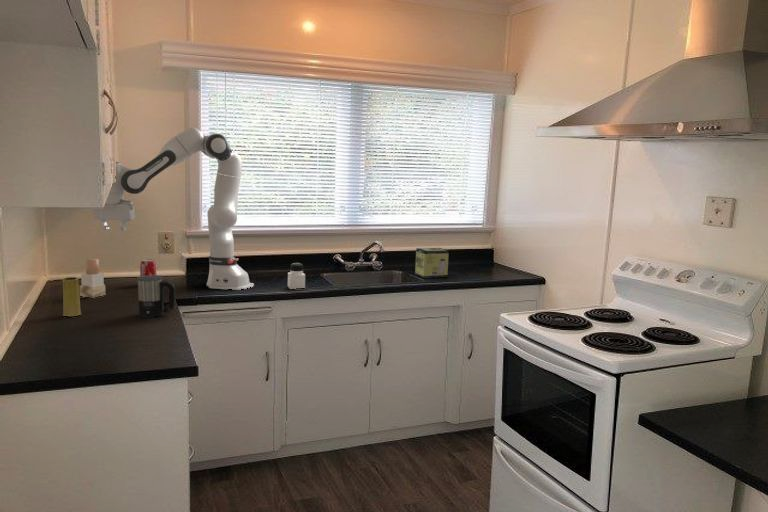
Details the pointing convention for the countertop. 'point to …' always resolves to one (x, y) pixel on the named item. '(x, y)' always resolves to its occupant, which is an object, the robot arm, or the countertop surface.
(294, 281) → the medicine bottle
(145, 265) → the soda can
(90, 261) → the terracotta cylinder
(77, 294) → the vase
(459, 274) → the countertop surface
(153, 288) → the milk frother
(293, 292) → the countertop surface
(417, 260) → the protein box
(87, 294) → the tower base
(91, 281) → the tower top
